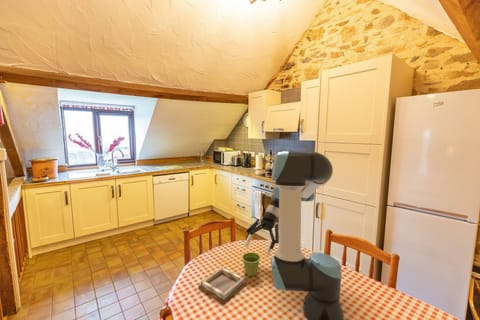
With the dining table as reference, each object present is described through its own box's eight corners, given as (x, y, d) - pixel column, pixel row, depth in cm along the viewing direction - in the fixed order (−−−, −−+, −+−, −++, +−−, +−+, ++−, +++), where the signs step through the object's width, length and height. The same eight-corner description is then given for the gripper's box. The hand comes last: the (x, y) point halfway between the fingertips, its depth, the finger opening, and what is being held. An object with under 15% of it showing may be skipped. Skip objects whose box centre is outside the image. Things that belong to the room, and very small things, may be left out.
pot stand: (246, 284, 107) (246, 278, 106) (223, 304, 94) (223, 297, 94) (221, 271, 117) (221, 265, 116) (198, 287, 104) (198, 281, 104)
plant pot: (260, 278, 111) (261, 262, 110) (241, 278, 111) (242, 262, 110) (259, 267, 120) (259, 252, 119) (242, 267, 120) (242, 252, 119)
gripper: (293, 223, 124) (279, 260, 114) (256, 213, 139) (240, 245, 129) (289, 216, 119) (274, 255, 109) (251, 206, 134) (234, 239, 124)
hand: (256, 250), depth 119 cm, fingers open, 13 cm apart
